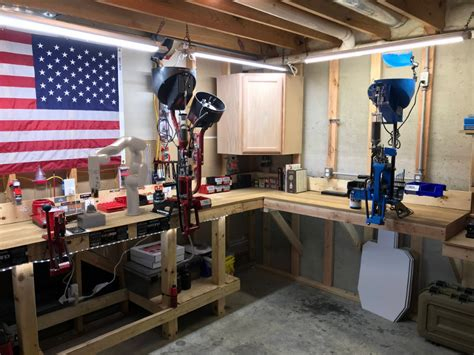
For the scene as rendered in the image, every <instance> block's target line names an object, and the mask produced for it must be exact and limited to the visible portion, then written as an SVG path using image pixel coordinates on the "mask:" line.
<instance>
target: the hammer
mask: <svg viewBox="0 0 474 355" xmlns="http://www.w3.org/2000/svg"><path fill="white" fill-rule="evenodd" d="M89 211H96V212H98V210H97V208H96V206H95V205H94V204H88V205H87V206H86V211H81V212H79V213H74V214H69V215H65V217H66V220H67V222H68V223H67V224H69V223H71V222H74V221H77V215H83V214H84V212H89Z"/></svg>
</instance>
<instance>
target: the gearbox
mask: <svg viewBox="0 0 474 355" xmlns="http://www.w3.org/2000/svg"><path fill="white" fill-rule="evenodd" d="M83 212H84V214H83V215H77V220H76V225H77V227H78V226H79V227H78V228H80V227H81V228H80V229H82V228H83V229H82V230H88V229H87V228H89V229H94V228H99V227H105V226H106V225H107V222H106V214H105V213H103V212H99V211H97V212H96V211H89V212H86V211H83Z"/></svg>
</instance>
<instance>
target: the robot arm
mask: <svg viewBox="0 0 474 355" xmlns="http://www.w3.org/2000/svg"><path fill="white" fill-rule="evenodd" d="M147 147H148V144H147V142H146V141H145V140H144V139H142V138H139V137H137V136H131V135H124V136H121V137H119V138H118V139H117V140H115V141H114V142H113V143H112V144H110V145H109V144H108V145H107V146H105V147H103V148H100V149H98V150H97V151H95V152H94V153H93V154H89V155H88V156H87V169H88V171H87V172H88V186H89V188H90V193H91V194H90V195H91V196H90V197H91V198H93V197H92V194H93V193H94V198H93V199H98V198H99V191H100V188H101V187H102V185H101V184H102V183H101V176H100V175H101V174H100V173H101V170H100V169H101V168H100V165H107V164H109V163H110V162H111V156H116V155H118V154H120V153H121V152H123V151H124V150H125V149H126V148H127V149H128V150H129V152H130V154H131V158H130V162H129V167H128V171H129V173H131V175H127V176H125V178H124V182H123V183H124V187H125V192H126V194H125V195H126V212H125V216H129V217H130V216H131V217H133V216H139V215H142V211H146V208H145V207H143V208H142V207H140V196H139V195H140V194H139V189H142V188H144V187H145V185H146V184H147V178H148V173H149V166H148V164H147V163H145V162H143V161H142V160H143V155H142V152H143V151H145V150H146V149H147ZM141 151H142V152H141Z"/></svg>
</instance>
